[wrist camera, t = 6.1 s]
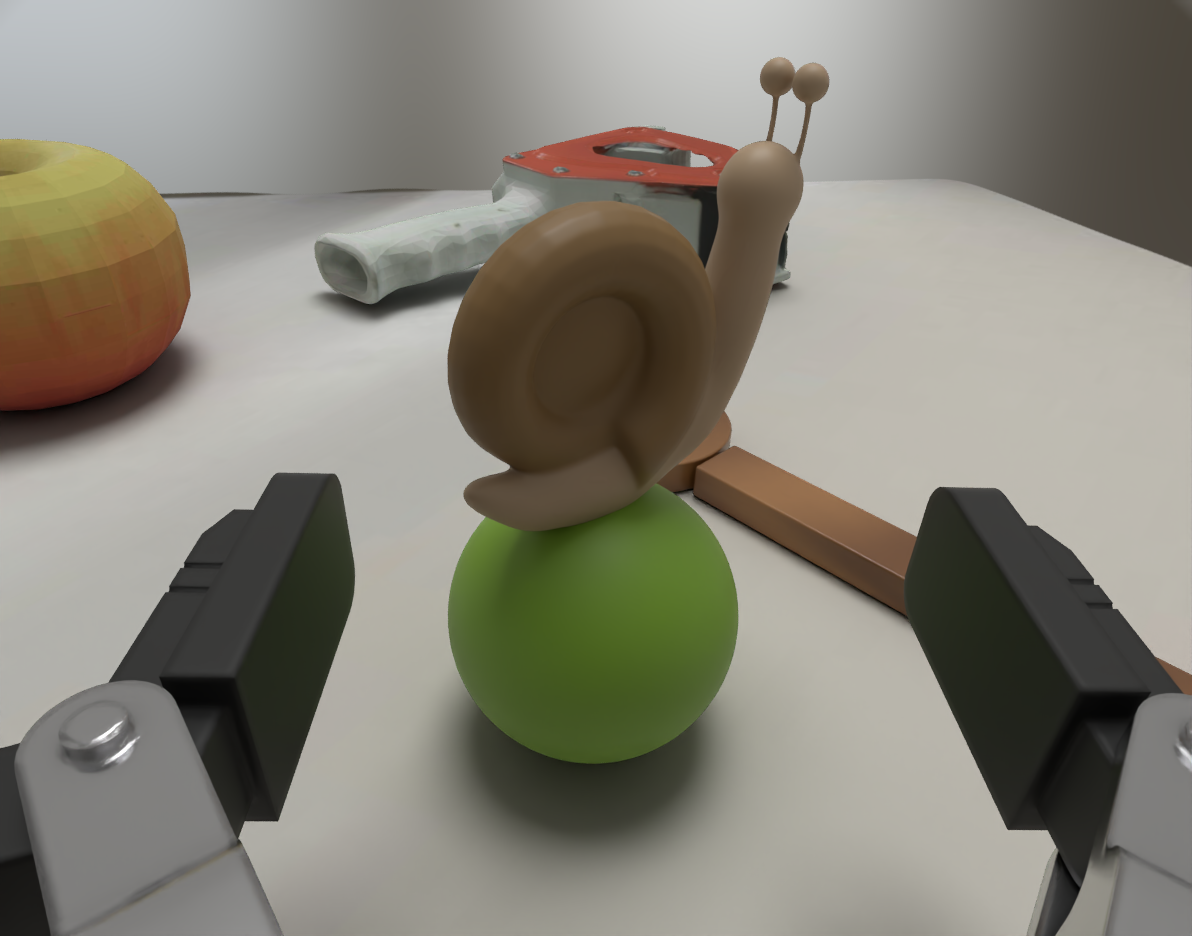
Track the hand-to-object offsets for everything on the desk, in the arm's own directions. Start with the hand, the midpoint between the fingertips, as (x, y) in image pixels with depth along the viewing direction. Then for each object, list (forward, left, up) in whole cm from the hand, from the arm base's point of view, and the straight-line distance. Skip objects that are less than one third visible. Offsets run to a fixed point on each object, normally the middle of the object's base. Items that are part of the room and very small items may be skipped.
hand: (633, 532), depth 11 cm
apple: (-19, +17, -7) cm, 26 cm away
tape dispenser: (-1, +30, -7) cm, 30 cm away
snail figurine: (0, +3, -7) cm, 7 cm away
